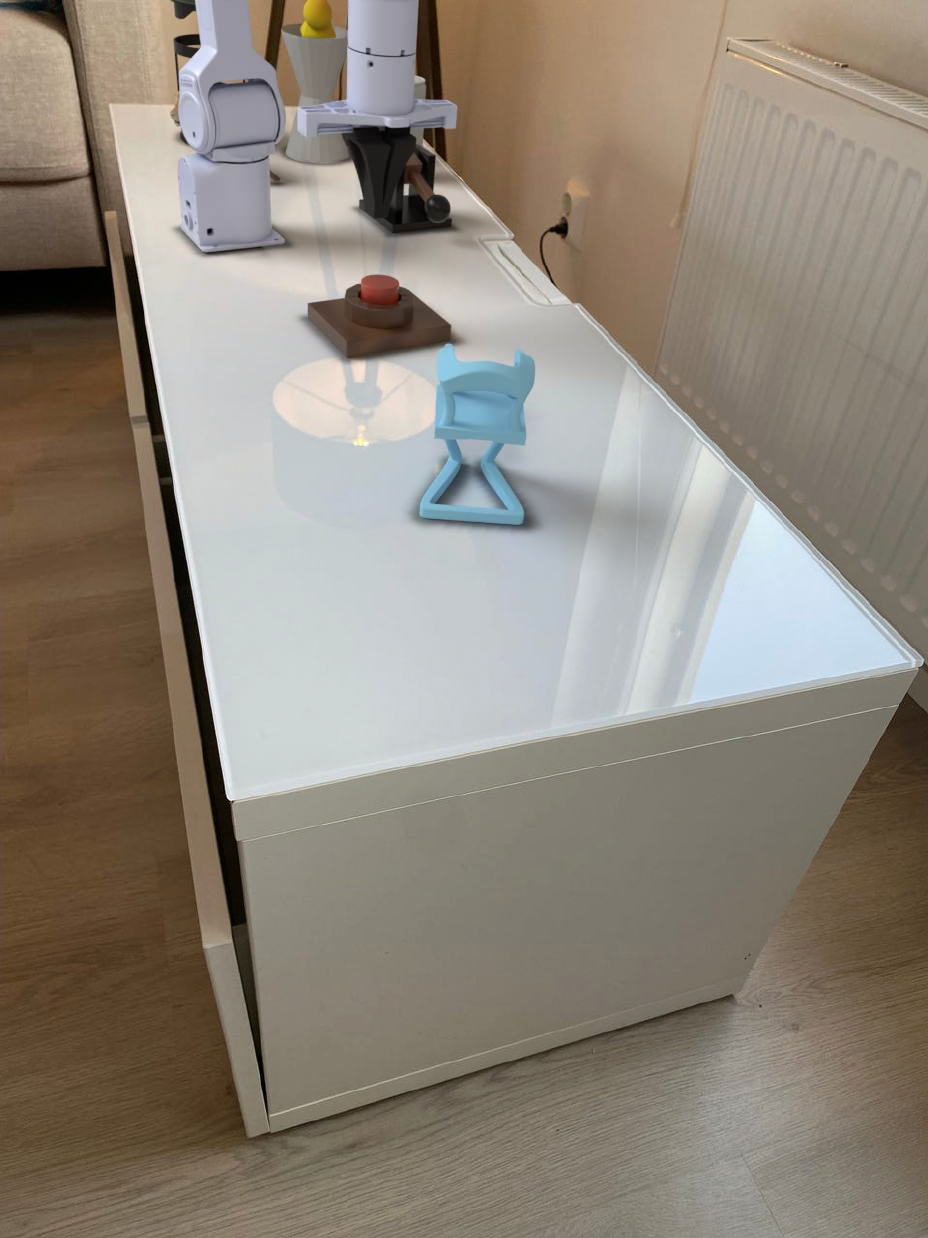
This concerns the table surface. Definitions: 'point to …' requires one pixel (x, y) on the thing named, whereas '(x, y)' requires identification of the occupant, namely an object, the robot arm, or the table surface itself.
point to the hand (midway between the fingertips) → (376, 214)
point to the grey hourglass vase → (316, 77)
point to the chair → (479, 428)
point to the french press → (186, 40)
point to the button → (379, 289)
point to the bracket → (411, 201)
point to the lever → (426, 192)
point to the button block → (377, 323)
